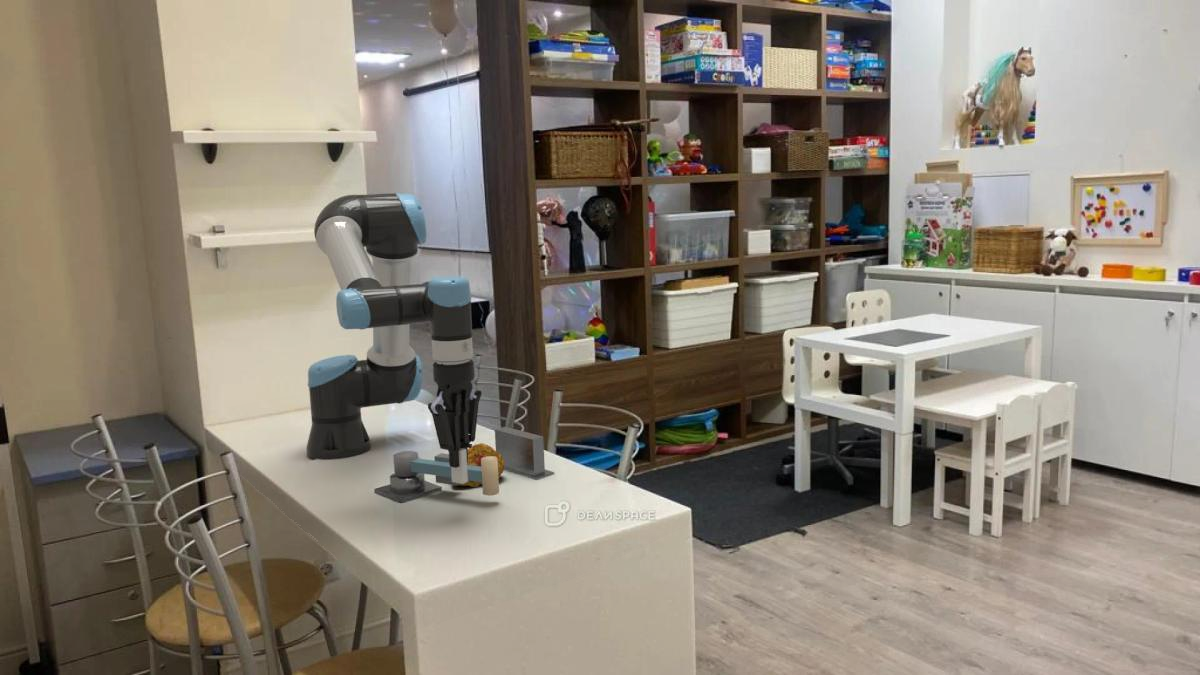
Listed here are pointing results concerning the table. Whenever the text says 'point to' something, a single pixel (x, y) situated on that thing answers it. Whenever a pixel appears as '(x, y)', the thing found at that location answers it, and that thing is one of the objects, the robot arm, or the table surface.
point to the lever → (448, 469)
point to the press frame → (512, 444)
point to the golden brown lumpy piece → (475, 460)
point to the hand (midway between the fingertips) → (459, 481)
